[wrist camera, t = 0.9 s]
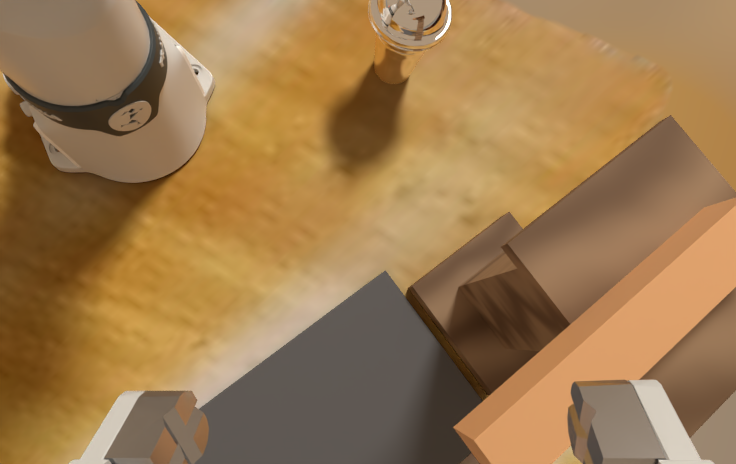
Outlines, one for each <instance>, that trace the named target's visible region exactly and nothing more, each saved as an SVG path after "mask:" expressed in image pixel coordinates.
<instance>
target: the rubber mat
mask: <svg viewBox="0 0 736 464" xmlns="http://www.w3.org/2000/svg"><path fill="white" fill-rule="evenodd" d="M482 402H483V401H482V400H481V398H480V397H479V396H478V394H477V393H476V392H475V390H474V389H473V388H472V386H471V385H470V384H469V382H468V381H467V380H466V378H465V377H464V376H463V374H462V373H461V372H460V370H459V369H458V367H457V366H456V365H455V363H454V362H453V361H452V359H451V358H450V357H449V355H448V354H447V353H446V351H445V350H444V349H443V347H442V346H441V345H440V343H439V342H438V341H437V339H436V338H435V337H434V335H433V334H432V332H431V331H430V330H429V328H428V327H427V326H426V324H425V323H424V322H423V320H422V319H421V318H420V316H419V315H418V314H417V312H416V311H415V310H414V308H413V307H412V306H411V304H410V303H409V302H408V300H407V299H406V298H405V296H404V295H403V293H402V292H401V291H400V289H399V288H398V287H397V285H396V284H395V283H394V281H393V280H392V279H391V277H390V276H389V275H388V273H387V272H386V271H384V272H383V273H381V274H380V275H378V276H377V277H376V278H374V279H373V280H372V281H370V282H369V283H368V284H366V285H365V286H364V287H362V288H361V289H360V290H358V291H357V292H356V293H354V294H353V295H352V296H350V297H349V298H348V299H346V300H345V301H344V302H342V303H341V304H340V305H338V306H337V307H335V308H334V309H333V310H331V311H330V312H329V313H327V314H326V315H325V316H323V317H322V318H321V319H319V320H318V321H317V322H315V323H314V324H313V325H311V326H310V327H309V328H307V329H306V330H305V331H303V332H302V333H301V334H299V335H298V336H296V337H295V338H294V339H292V340H291V341H290V342H288V343H287V344H286V345H284V346H283V347H282V348H280V349H279V350H278V351H276V352H275V353H274V354H272V355H271V356H270V357H268V358H267V359H266V360H264V361H263V362H262V363H260V364H259V365H258V366H256V367H255V368H253V369H252V370H251V371H249V372H248V373H247V374H245V375H244V376H243V377H241V378H240V379H239V380H237V381H236V382H235V383H233V384H232V385H231V386H229V387H228V388H227V389H225V390H224V391H223V392H221V393H220V394H219V395H217V396H216V397H214V398H213V399H212V400H210V401H209V402H208V403H206V404H205V405H204V406H202V407H201V408H200V409H199V410H201V411H202V412H204V414H205V416H206V418H207V420H208V426H209V433H208V441H207V445H206V448H205V450H204V453H203V456H201V457H200V458H199V459H198V460H197V461H196V462H195V463H194V464H459V463H460V462H461V461H463V460H464V459H465V458H466V457H467V456H468V455H469V454H470V453H471V451H470V450H469V448H468V447H467V445H466V444H465V443H464V441H463V440H462V439H461V437H460V436H459V435H458V433H457V432H456V430H455V429H454V428H453V427H454V426H455V425H456V424H458V423H459V422H460V421H461V420H462V419H463V418H464V417H466V416H467V415H468V414H469V413H470V412H471V411H472V410H474V409H475V408H476V407H477V406H478V405H479V404H480V403H482Z"/></svg>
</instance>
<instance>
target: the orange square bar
mask: <svg viewBox="0 0 736 464" xmlns="http://www.w3.org/2000/svg"><path fill="white" fill-rule="evenodd" d="M735 287H736V198H732V199H729V200H726V201H723V202H720V203H717V204H713V205H710V206H707V207H704V208H703V209H702V210H700V211H699V212H698V213H697V214H696V215H695V216H694V217H693V218H691V219H690V220H689V221H688V222H687V223H686V224H685V225H683V226H682V227H681V228H680V229H679V230H678V231H677V232H675V233H674V234H673V235H672V236H671V237H670V238H669V239H667V240H666V241H665V242H664V243H663V244H662V245H661V246H659V247H658V248H657V249H656V250H655V251H654V252H653V253H651V254H650V255H649V256H648V257H647V258H646V259H645V260H643V261H642V262H641V263H640V264H639V265H638V266H637V267H635V268H634V269H633V270H632V271H631V272H630V273H629V274H627V275H626V276H625V277H624V278H623V279H622V280H621V281H620V282H618V283H617V284H616V285H615V286H614V287H613V288H612V289H610V290H609V291H608V292H607V293H606V294H605V295H604V296H602V297H601V298H600V299H599V300H598V301H597V302H596V303H594V304H593V305H592V306H591V307H590V308H589V309H588V310H586V311H585V312H584V313H583V314H582V315H581V316H580V317H578V318H577V319H576V320H575V321H574V322H573V323H572V324H570V325H569V326H568V327H567V328H566V329H565V330H564V331H562V332H561V333H560V334H559V335H558V336H557V337H556V338H555V339H553V340H552V341H551V342H550V343H549V344H548V345H547V346H545V347H544V348H543V349H542V350H541V351H540V352H539V353H537V354H536V355H535V356H534V357H533V358H532V359H531V360H529V361H528V362H527V363H526V364H525V365H524V366H523V367H521V368H520V369H519V370H518V371H517V372H516V373H515V374H513V375H512V376H511V377H510V378H509V379H508V380H507V381H505V382H504V383H503V384H502V385H501V386H500V387H499V388H497V389H496V390H495V391H494V392H493V393H492V394H491V395H489V396H488V397H487V398H486V399H485V400H484V401H483V402H482V403H480V404H479V405H478V406H477V407H476V408H475V409H474V410H472V411H471V412H470V413H469V414H468V415H467V416H466V417H464V418H463V419H462V420H461V421H460V422H459V423H458V424H456V425H455V426H454V427H453V428H454V429H455V430H456V432H457V433H458V435H459V436H460V437H461V439H462V440H463V441H464V443H465V444H466V445H467V447H468V448H469V450H470V451H471V452H472V454H473V455H474V456H475V458H476V459H477V461H478V462H479V463H480V464H552V463H553V462H554V461H555V460H556V459H557V458H558V457H559V456H560V455H561V454H562V453H563V452H564V451H565V450H567V449H568V448H569V447H570V446H571V443H570V438H569V433H568V421H567V416H568V407H569V406H571V405H572V404H573V400H572V397H571V387H572V384H573V383H574V381H601V380H639V379H640V378H641V377H642V376H644V375H645V374H646V373H647V372H648V371H649V370H650V369H651V368H652V367H653V366H654V365H655V364H656V363H657V362H658V361H659V360H660V359H661V358H662V357H663V356H664V355H665V354H666V353H667V352H669V351H670V350H671V349H672V348H673V347H674V346H675V345H676V344H677V343H678V342H679V341H680V340H681V339H682V338H683V337H684V336H685V335H686V334H687V333H688V332H689V331H690V330H691V329H692V328H693V327H695V326H696V325H697V324H698V323H699V322H700V321H701V320H702V319H703V318H704V317H705V316H706V315H707V314H708V313H709V312H710V311H711V310H712V309H713V308H714V307H715V306H716V305H717V304H718V303H720V302H721V301H722V300H723V299H724V298H725V297H726V296H727V295H728V294H729V293H730V292H731V291H732V290H733V289H734V288H735Z"/></svg>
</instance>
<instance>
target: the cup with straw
mask: <svg viewBox="0 0 736 464" xmlns="http://www.w3.org/2000/svg"><path fill="white" fill-rule="evenodd" d="M368 14H369V19H370V22H371V24H372V27H373V29H374V30H375V32H376V40H375V55H374V70H375V72H376V74H377V76H378V77H379V78H380V79H381V80H382V81H384V82H386V83H389V84H399V83H402V82H404V81H405V80H407V78H408V77H409V75H410V74H411V73H412V71H413V70H414V68H415V67H416V65H417V64H418V62H419V60H420V59H421V57H422V56H423V54H424V53H425V51H426V50H429V49H431V48H433V47H435V46H437V45H438V44H439V43H441V42H442V41H443V40H444V38H445V37H446V36H447V34H448V32H449V30H450V26H451V20H452V8H451V4H450V1H449V0H370V1H369V5H368Z"/></svg>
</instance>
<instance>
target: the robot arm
mask: <svg viewBox="0 0 736 464" xmlns="http://www.w3.org/2000/svg"><path fill="white" fill-rule="evenodd" d="M0 71H2V72H3V76H4V79H5V81H6V83H7V84H8V86H9V87H10V89H11V90H12V91H13V92H14V93H15V94H16V95H20V97H21V98H22V99H23V100H24V102H22V103H20V107H21V109H22V111H23V112H24V113H25V114H26V115H27V116H28V117H31V116H33V118H34V121H35V122H34V124H33V126H34V128H35V129H36V130H37V132H38V133H39V134H40V136H41V139H42V141H43V144H44V146H45V149H46V152H47V154H48V157H49V159H50V161H51V163H52V164H53V165H54V166H55V167H56V168H57V169H58V170H60V171H63V172H89V173H93V174H96V175H99V176H102V177H104V178H107V179H110V180H114V181H119V182H127V183H138V182H146V181H151V180H155V179H158V178H161V177H163V176H166V175H168V174H170V173H172V172H173V171H175V170H177V169H178V168H179V167H181V166H182V165H183V164H184V163H186V162H187V161H188V160H189V159H190V157H191V156H192V155H193V154H194V152H195V151H196V149H197V148H198V146H199V144H200V142H201V140H202V137H203V134H204V131H205V125H206V106H207V102H208V100H209V98H210V96H211V94H212V92H213V89H214V86H215V80H214V78H213V76H212V74H211V73H210V72H209V71H208V70H207V69H206V68H205V67H204V66H203V65H202V64H201V63H200V62H199V61H197V60H196V59H195V58H194V57H193V56H192V55H191V54H190V53H189V52H188V51H186V50H185V49H184V48H183V47H182V46H181V45H180V44H179V43H178V42H177V41H175V40H174V39H173V38H172V37H171V36H170V35H169V34H168V33H167V32H166V31H164V30H163V29H162V28H161V27H160V26H159V25H158V24H157V23H156V22H155V21H153V20H152V19H151V18H150V17H149V15H148V14H147V13H146V11H145V10H144V9H143V8H142V6H141V5H140V4H139V3H138V2H137V1H136V0H0ZM195 72H198V73H199V74H198V75H196V74H195ZM58 150H59V151H60V152H58ZM571 397H572V400H573V404H572V405H571V406H569V407H568V416H567V421H568V433H569V438H570V443H571V446H572V450H573V454H574V456H575V457H576V458H577V459H579V460H580V461H581V462H582V463H583V464H714V463H713V462H712V461H711V460H701V459H700V457H699V455H698V453H697V451H696V449H695V447H694V445H693V444H692V442H691V440H690V438H689V436H688V434H687V432H686V430H685V428H684V426H683V425H682V423H681V421H680V419H679V417H678V415H677V413H676V411H675V409H674V407H673V406H672V404H671V402H670V400H669V398H668V396H667V394H666V392H665V390H664V389H663V387H662V385H661V384H660V383H659V382H658V381H657V380H653V379H652V380H601V381H574V383H573V384H572V387H571ZM196 402H197V399H196V397H195V396H194V394H193V392H192V391H125V392H124V393H123V394H121V395H120V396H119V397H118V398H117V400H116V401H115V403H114V405H113V406H112V408H111V409H110V411H109V413H108V414H107V416H106V418H105V419H104V421H103V422H102V424H101V426H100V427H99V429H98V431H97V432H96V434H95V435H94V437H93V439H92V440H91V442H90V443H89V445H88V447H87V448H86V450H85V452H84V453H83V455H82V456H81V458H80V459H74V460H72V461H71V462H70V463H68V464H194V463H195V462H196V461H197V460H198V459H199V458H200V457H201V456H203V453H204V450H205V448H206V445H207V441H208V433H209V426H208V420H207V418H206V416H205V414H204V412H202V411H201V410H199V409H197V408H196V407H194V406H195V404H196Z"/></svg>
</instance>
